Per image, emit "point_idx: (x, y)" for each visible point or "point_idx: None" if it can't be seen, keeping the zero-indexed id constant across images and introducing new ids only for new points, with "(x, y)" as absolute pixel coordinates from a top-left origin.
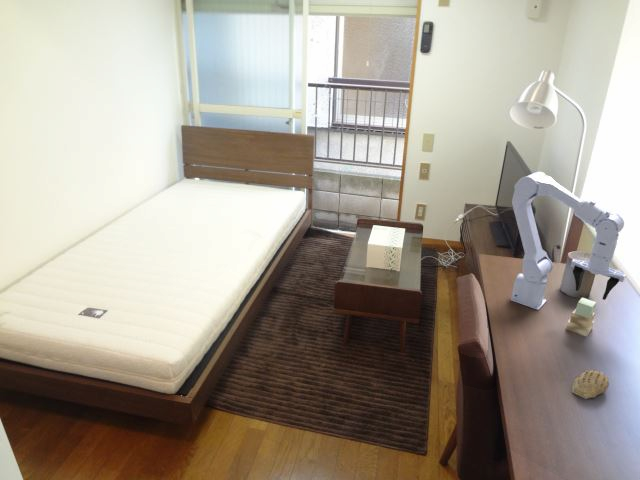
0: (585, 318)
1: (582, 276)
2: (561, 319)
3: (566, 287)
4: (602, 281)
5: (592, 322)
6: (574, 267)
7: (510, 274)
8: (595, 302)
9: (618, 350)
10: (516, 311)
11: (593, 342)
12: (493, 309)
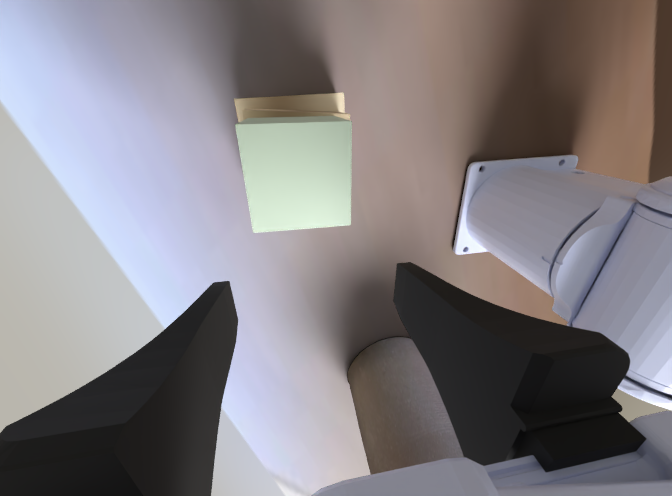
0: (265, 111)
1: (443, 381)
2: (374, 166)
3: (420, 356)
4: (344, 451)
5: None
6: (627, 421)
7: None
8: (255, 227)
9: (73, 83)
10: (546, 80)
11: (192, 65)
12: (645, 8)
